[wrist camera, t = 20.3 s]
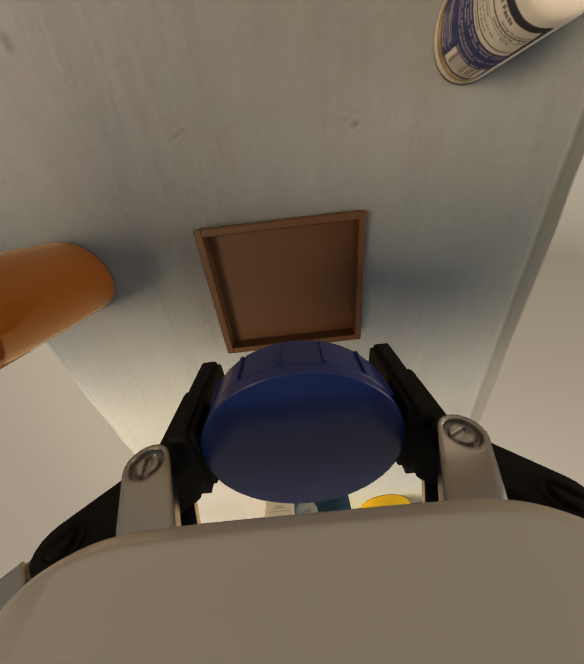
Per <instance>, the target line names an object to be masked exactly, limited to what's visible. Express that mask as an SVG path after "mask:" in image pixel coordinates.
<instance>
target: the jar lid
mask: <svg viewBox="0 0 584 664" xmlns="http://www.w3.org/2000/svg"><path fill="white" fill-rule="evenodd" d="M393 395H394V394H393V392H392V390H391V389H390V387H389V385H388V384H387V382H386V380H385V378H384V377H383V375H382V373H381V372H380V371H379V372H377V370H376V369H375V368H374V367H373V366H372V365H371V364H370V363H369V362H368V361H367V360H366V359H364V358H363V357H362V356H360V355H359V353H358V352H357V351H355V352H353V351H351V350H350V349H347V348H344V347H342V346H339V345H336V344H332V343H327V342H322V340H318V341H313V340H298V341H289V342H283V343H280V342H277V344H274V345H270V346H267V347H265V348H262V349H259V350H257V351H255V352H253V353H251V354H249V355H247V356H246V357H241V358H240V361H238V362H237V363H236V364H235V365H234V366H233V367H232V368H230V369H229V371H228V372H227V373H226V374H225V375H224V377H223V378H222V380H221V381H220V380H218V382H217V385H216V388H215V390H214V393H213V396H212V399H211V402H210V409H209V412H208V415H207V418H206V421H205V424H204V427H203V429H202V434H201V451H202V454H203V456H204V459H205V461H206V463H207V465H208V467H209V469H210V471H211V472H212V473H213V474H214V475H215V476H216V477H217V479H219V480H220V481H221V482H222V483H224V484H225V485H226V486H228V487H230V488H231V489H233V490H235V491H237V492H239V493H241V494H244V495H247V496H249V497H252V498H256V499H260V500H264V501H269V502H276V503H290V504H299V503H313V502H320V501H326V500H330V499H335V498H338V497H341V496H345V495H348V494H350V493H353V492H355V491H358V490H360V489H362V488H364V487H366V486H367V485H369V484H371V483H372V482H374V481H375V480H377V479H378V478H379V477H381V476H382V475H383V474H384V473H385V472H386V471H388V470H389V469H390V468H391V466H392V465H393V464H394V463H395V462H396V460H397V458H398V457H399V455H400V453H401V451H402V447H403V442H404V437H405V431H406V427H405V422H404V418H403V416H402V413H401V411H400V409H399V407H398V406H397V404H396V402H395V400H394V399H393V397H392V396H393Z"/></svg>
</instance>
